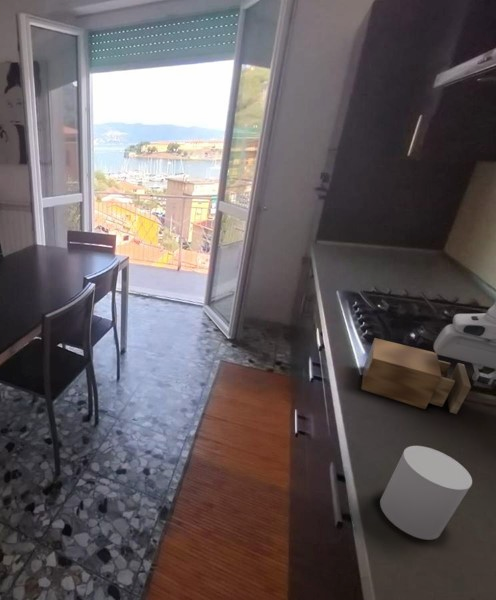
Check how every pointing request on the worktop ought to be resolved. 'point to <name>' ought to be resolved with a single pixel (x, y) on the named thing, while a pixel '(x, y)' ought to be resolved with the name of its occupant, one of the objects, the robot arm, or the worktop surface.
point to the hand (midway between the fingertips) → (480, 381)
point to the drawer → (451, 387)
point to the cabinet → (401, 373)
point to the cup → (424, 492)
